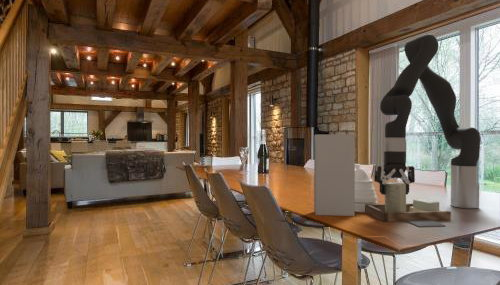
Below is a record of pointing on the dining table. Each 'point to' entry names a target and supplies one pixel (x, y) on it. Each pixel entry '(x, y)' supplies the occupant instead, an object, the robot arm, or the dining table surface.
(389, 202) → the skincare box
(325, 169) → the tall grey box
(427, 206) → the offcut upper
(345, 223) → the dining table surface
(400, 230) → the dining table surface
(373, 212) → the rack
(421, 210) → the offcut lower
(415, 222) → the felt mat
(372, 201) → the honey pot
